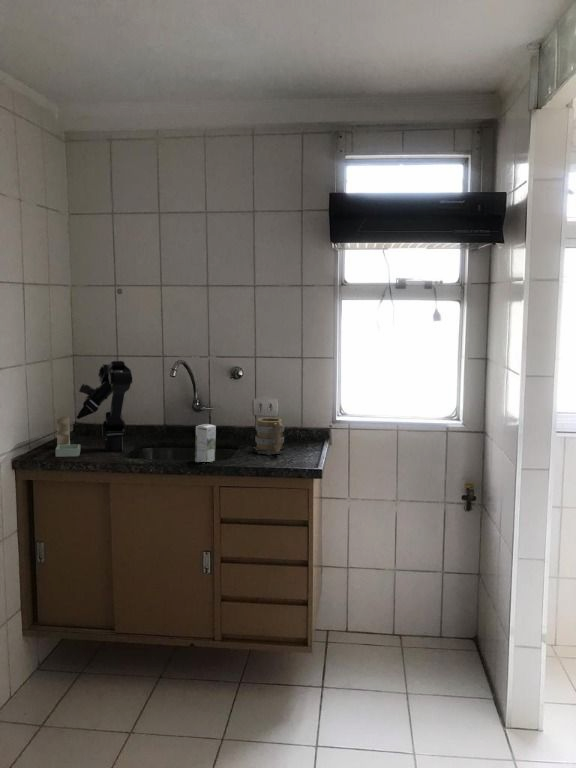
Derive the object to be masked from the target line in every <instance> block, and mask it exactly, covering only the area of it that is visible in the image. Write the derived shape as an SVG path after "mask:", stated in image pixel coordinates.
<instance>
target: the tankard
mask: <svg viewBox="0 0 576 768" xmlns="http://www.w3.org/2000/svg"><path fill="white" fill-rule="evenodd" d="M255 431H256V436H254V437H255V440H254V441H255V443H256V446H254V447H253V448H255V449H256V450H268V451H270V450H274V451H275V452H279V451H280V449H282V447H283V443H285V437H284V436H283V435H284V432H285V425H284V420H283V419H282V418H278V417H277V418H276V417H261V418H258V419H257V420H256V425H255Z"/></svg>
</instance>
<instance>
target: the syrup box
mask: <svg viewBox="0 0 576 768" xmlns="http://www.w3.org/2000/svg"><path fill="white" fill-rule="evenodd" d="M216 429H217V425H214V424H210V423H204V424H200V425H196V426H195V438H194V439H195V443H194V444H195V445H194V446H195V447H194V449H195V450H194V462H195V463H199V462H210V463H214V462H215V461H216V438H217V436H216V435H217V430H216ZM213 461H214V462H213Z"/></svg>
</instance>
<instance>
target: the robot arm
mask: <svg viewBox="0 0 576 768" xmlns="http://www.w3.org/2000/svg"><path fill="white" fill-rule="evenodd" d="M97 373H98V374H97V375H98V377H99V378H98V380H99V383H100V385H99V386H98V387H96V388H93V387H92V386H90V385H88V384H85V383H82V384H81V386H80V388H79V390H78V392H80V393H83V394H85V395H87V396H86V398H84V399H85V400H84V401H83V403H82V405H83V406H82V408H81V409H80V410H79V412H78V413H77V416H76V417H75V418H76V419H77V420H80V419H82V418H84V417H87V416H89V415H91V414H94V413H96V412H97V411H98V410H99V407H100V406H101V405H102V403H103V402H105V400H107V399H109V397H110V396H111V395H112V396H111V404H110V410H109V411H107V412H106V413H105V417H104V420H103V422H102V424H101V430H102V437H104V438H105V447H104V448H105V451H106V453H111V452H112V453H113V452H118V453H119V452H123V451H124V446H123V445H124V444H123V441H124V440H123V439H124V438H123V437H126V436H127V430H126V423H125V420H124V418H123V417H124V415H122V412H123V405H124V400H125V394H126V393H127V391H129V390H130V388H131V385H132V384H133V375H132V371H131V369H130V368H129V367H128V366H127V365H126V364H125V361H122V360H113V361H110V363H107V364H106V363H103V364H102V365H101V366H100V368H99V370H98V372H97Z"/></svg>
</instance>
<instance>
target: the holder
mask: <svg viewBox="0 0 576 768" xmlns="http://www.w3.org/2000/svg"><path fill="white" fill-rule="evenodd" d="M80 453H81V444H79V443H78V444H70V445H58V446H57V445H56V447H55V457H57V458H59V457H61V458H62V457H80Z"/></svg>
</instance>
